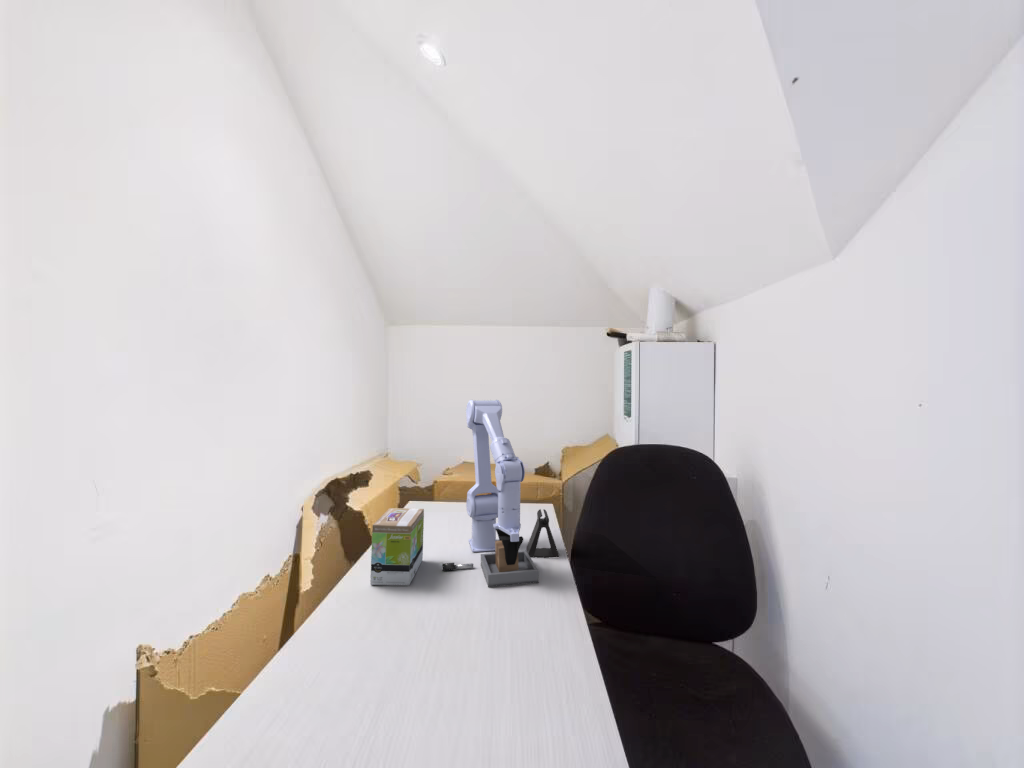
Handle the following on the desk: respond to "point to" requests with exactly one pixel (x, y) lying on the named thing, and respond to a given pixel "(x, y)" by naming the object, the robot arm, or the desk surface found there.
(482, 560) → the tray
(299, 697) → the desk surface
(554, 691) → the desk surface
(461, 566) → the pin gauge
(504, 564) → the block
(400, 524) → the tea box
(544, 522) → the phone stand
